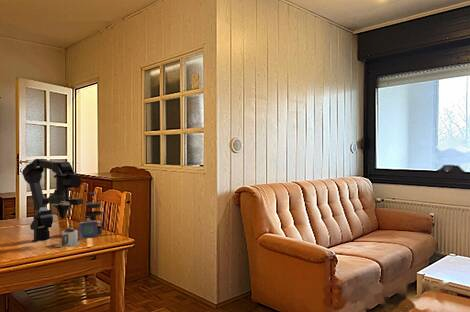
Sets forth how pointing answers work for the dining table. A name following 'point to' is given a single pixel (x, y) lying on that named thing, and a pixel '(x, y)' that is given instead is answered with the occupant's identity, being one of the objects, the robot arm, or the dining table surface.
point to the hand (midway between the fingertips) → (62, 218)
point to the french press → (95, 213)
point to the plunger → (69, 229)
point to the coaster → (68, 246)
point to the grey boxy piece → (69, 237)
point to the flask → (88, 229)
